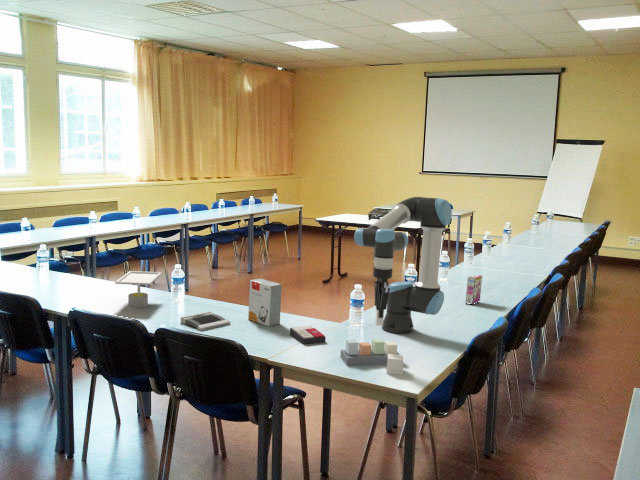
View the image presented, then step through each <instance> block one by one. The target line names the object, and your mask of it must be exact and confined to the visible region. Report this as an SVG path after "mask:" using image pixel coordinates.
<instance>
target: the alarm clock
mask: <svg viewBox="0 0 640 480" xmlns="http://www.w3.org/2000/svg"><path fill="white" fill-rule="evenodd" d="M180 324H182V325H189V326H192V327H194V328H196V329H197V330H198V331H201V332H202V331H208V330H212V329H217V328H220V327H225V326H228V325H231V320H229V319H227V318H224V317H223V316H221V315H218V314H216V313H214V312H212V311H206V312H200V313H196V314H191V315H185V316H180Z"/></svg>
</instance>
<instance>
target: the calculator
mask: <svg viewBox="0 0 640 480" xmlns="http://www.w3.org/2000/svg"><path fill="white" fill-rule="evenodd" d="M289 336H290V337H291V338H294V339H295V340H296V341H297V342H298V343H300V344H302V345H303V346H305V345H313V344H323V343H326V336H325V335H324V334H323V333H322V332H320V330H318V329H317V328H315V327H313V326H312V325H305V326H292V327H290V328H289Z"/></svg>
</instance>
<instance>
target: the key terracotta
mask: <svg viewBox="0 0 640 480" xmlns="http://www.w3.org/2000/svg"><path fill="white" fill-rule="evenodd" d="M371 349H372V344H371V343H370V342H358V350H359V354H360V355H371Z"/></svg>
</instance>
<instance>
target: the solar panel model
mask: <svg viewBox="0 0 640 480" xmlns="http://www.w3.org/2000/svg"><path fill="white" fill-rule="evenodd" d="M162 274H163V273H162V272H159V271H138V270H137V271H135V270H129V271H128V272H126V273H125V274H124V275H122V276H121V277H120V278H118V279H117V280H115V281H114V284H115V285H137V292H131V293H129V294H128V295H127V296H128V307H129V308H134V309H135V308H136V309H138V308H139V309H140V308H146V307H147V306H148V305H149V304H148V303H149V294H148V293H146V292H141V286H150V285H152V284H153V283H154V282H155V281H156V280H157V279H158V278H159V277H160V276H161V275H162Z"/></svg>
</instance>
